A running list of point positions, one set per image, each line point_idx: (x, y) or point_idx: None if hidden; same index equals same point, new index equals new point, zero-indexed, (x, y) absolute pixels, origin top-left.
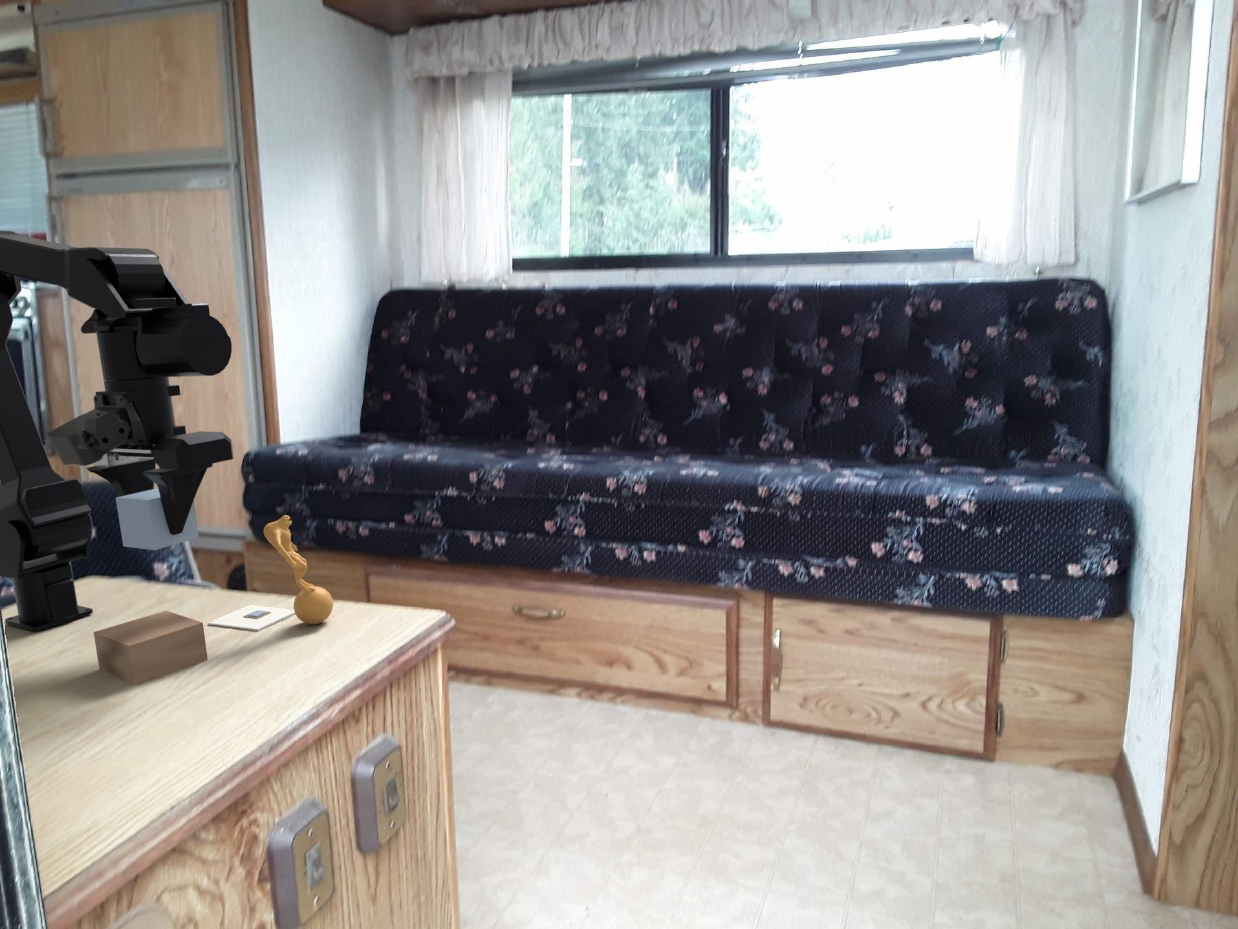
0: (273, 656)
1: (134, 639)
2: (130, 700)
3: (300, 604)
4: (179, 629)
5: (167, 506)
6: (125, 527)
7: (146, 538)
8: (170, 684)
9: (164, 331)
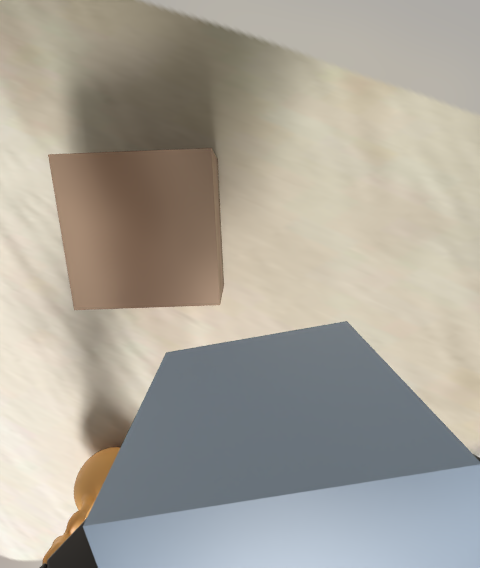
0: (34, 353)
1: (82, 180)
2: (25, 129)
3: (93, 468)
4: (68, 263)
5: (68, 550)
6: (339, 361)
7: (197, 365)
8: (44, 202)
9: None
